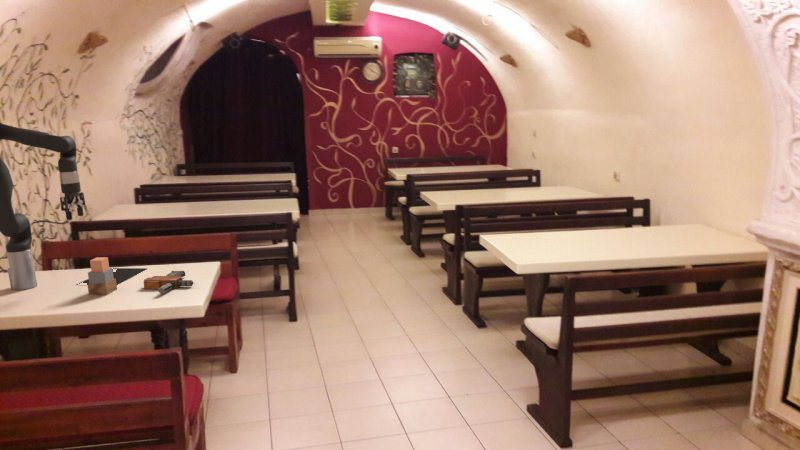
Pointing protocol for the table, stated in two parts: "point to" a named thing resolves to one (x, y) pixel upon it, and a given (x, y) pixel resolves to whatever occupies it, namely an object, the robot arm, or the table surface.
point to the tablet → (123, 274)
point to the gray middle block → (100, 277)
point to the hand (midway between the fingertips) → (75, 217)
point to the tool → (167, 281)
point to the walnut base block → (102, 288)
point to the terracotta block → (99, 264)
